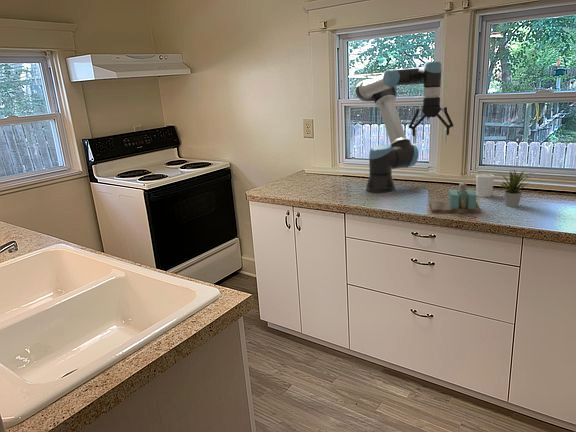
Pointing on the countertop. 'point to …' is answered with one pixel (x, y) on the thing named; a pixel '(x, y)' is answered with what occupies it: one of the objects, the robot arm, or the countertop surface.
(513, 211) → the countertop surface
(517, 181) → the house plant
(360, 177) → the countertop surface
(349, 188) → the countertop surface
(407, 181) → the countertop surface
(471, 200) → the teal notched block
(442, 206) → the baseplate
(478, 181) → the white cup
